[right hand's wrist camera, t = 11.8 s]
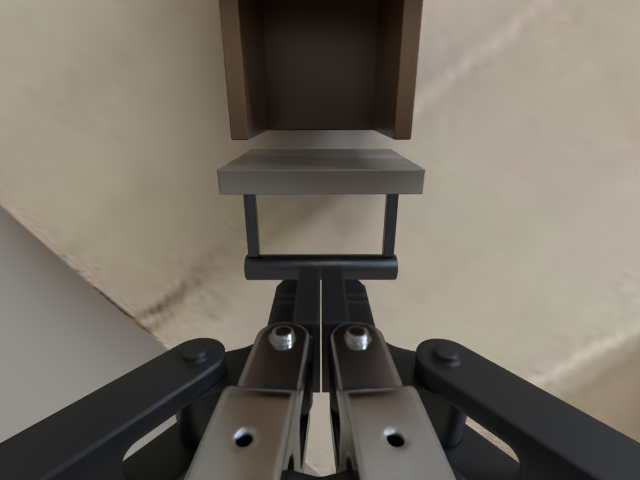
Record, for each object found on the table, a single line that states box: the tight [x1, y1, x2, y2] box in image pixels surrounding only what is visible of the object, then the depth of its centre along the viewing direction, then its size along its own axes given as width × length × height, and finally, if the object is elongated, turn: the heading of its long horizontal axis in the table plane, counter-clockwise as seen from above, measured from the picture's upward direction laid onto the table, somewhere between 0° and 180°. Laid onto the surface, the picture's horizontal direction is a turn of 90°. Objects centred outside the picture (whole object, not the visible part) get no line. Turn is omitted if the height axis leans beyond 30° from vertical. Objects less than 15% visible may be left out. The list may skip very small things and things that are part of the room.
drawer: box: [217, 0, 425, 280], centre depth 19 cm, size 22×10×9 cm, turn 0°
